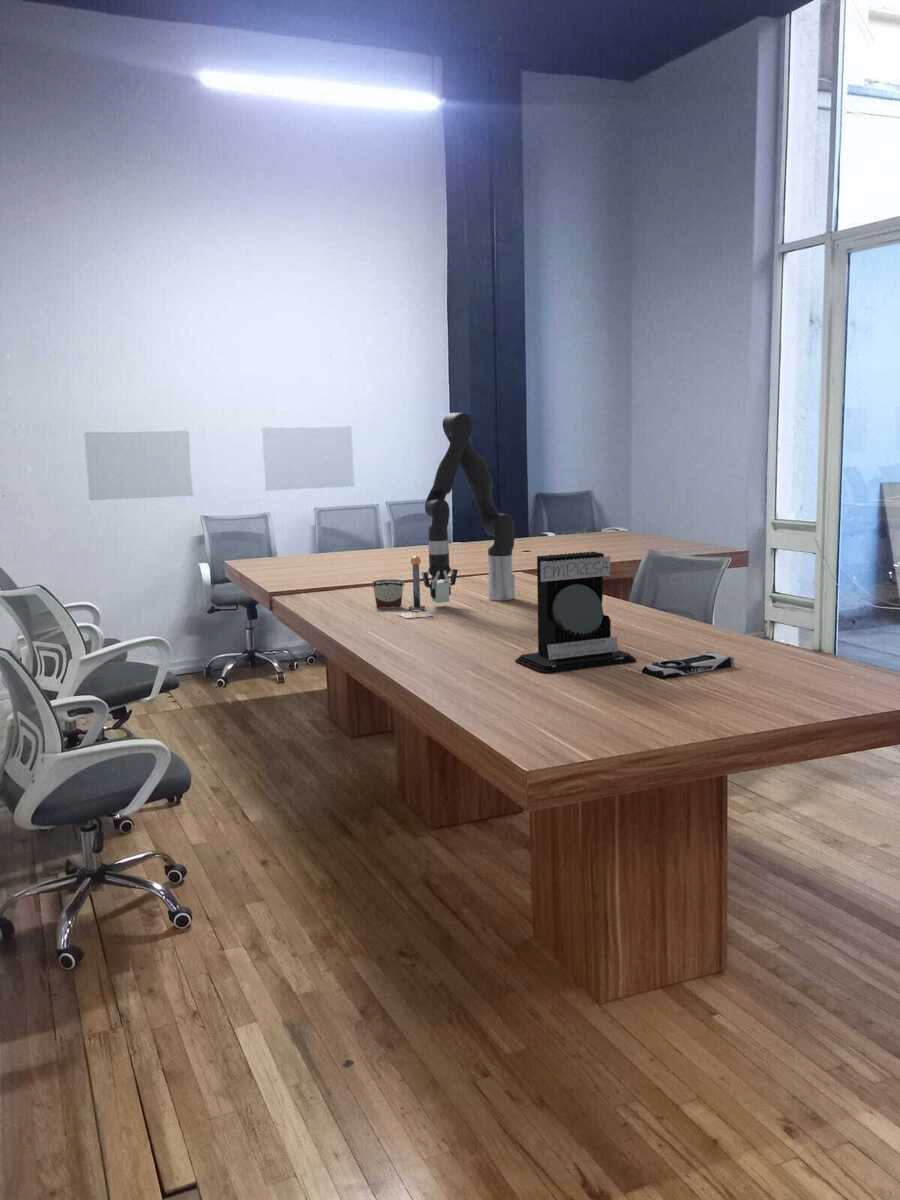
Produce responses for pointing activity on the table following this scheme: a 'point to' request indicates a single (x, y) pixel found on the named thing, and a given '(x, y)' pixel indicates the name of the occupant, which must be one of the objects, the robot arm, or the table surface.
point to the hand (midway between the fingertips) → (440, 597)
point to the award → (573, 615)
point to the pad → (414, 614)
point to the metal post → (416, 584)
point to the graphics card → (688, 665)
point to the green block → (441, 592)
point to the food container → (388, 592)
